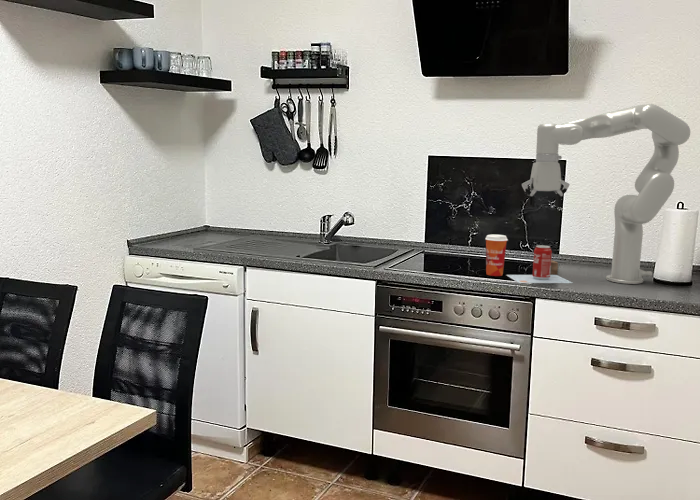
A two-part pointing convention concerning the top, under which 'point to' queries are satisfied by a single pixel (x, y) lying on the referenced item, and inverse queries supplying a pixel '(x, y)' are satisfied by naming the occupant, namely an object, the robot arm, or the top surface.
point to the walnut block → (554, 267)
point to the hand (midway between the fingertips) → (544, 207)
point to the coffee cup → (495, 254)
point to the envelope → (532, 280)
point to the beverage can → (542, 262)
